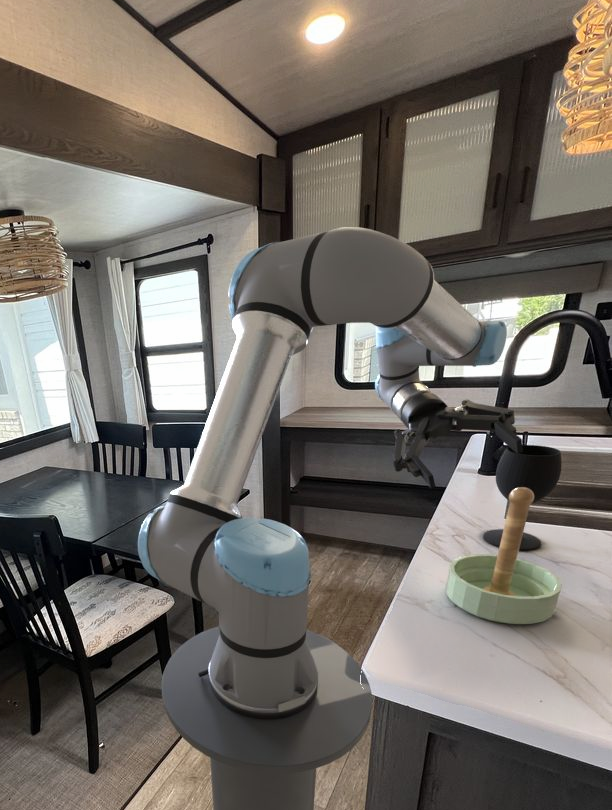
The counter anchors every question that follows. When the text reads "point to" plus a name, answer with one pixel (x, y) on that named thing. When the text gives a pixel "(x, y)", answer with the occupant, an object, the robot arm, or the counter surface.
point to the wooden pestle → (511, 540)
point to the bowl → (527, 606)
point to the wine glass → (526, 482)
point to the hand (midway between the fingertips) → (474, 464)
